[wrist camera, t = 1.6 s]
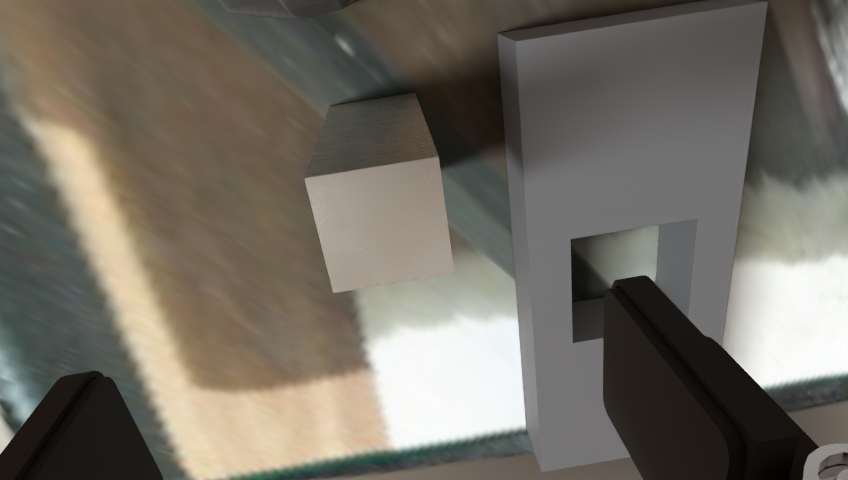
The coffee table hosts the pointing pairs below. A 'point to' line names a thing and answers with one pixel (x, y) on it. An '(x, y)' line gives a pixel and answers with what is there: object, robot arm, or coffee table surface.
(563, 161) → the grey block with hole
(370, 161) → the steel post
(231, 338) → the coffee table surface
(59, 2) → the coffee table surface
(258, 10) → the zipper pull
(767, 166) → the coffee table surface
